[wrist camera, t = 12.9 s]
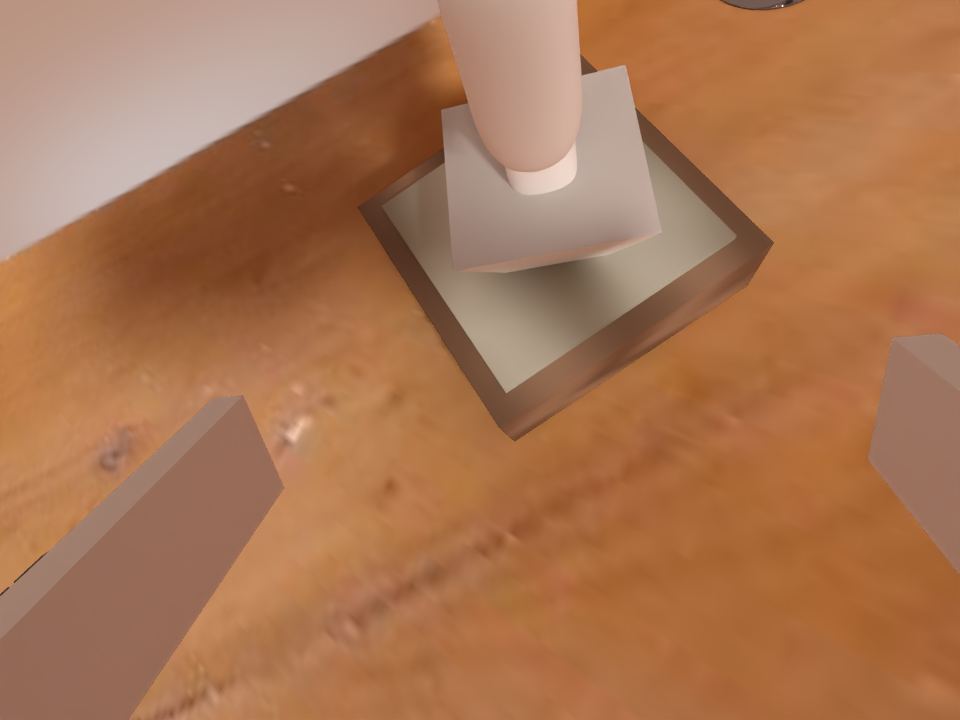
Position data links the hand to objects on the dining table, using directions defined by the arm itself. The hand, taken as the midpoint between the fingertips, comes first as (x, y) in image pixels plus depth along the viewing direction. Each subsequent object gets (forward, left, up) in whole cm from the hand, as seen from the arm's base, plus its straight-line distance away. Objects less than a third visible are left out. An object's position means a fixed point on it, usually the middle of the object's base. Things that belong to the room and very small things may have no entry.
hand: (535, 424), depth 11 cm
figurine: (-5, -9, -9) cm, 14 cm away
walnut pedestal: (-5, -9, -13) cm, 17 cm away
